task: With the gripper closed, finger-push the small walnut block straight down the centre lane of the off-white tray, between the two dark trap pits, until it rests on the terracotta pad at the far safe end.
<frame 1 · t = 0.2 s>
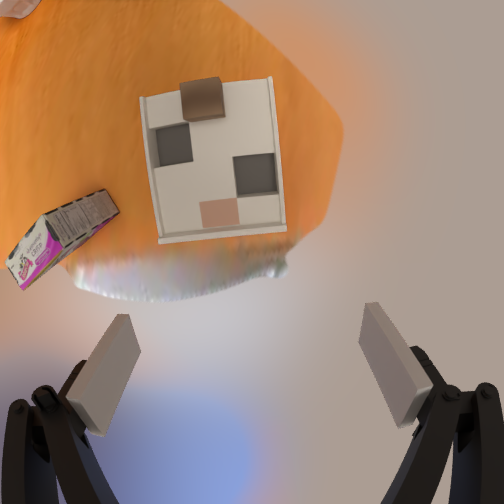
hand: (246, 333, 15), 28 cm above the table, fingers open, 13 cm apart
candy bar box: (92, 219, 41), on the table
cup: (30, 2, 23), on the table
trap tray: (215, 158, 38), on the table
block: (206, 103, 32), point 3 cm above the table, touching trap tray
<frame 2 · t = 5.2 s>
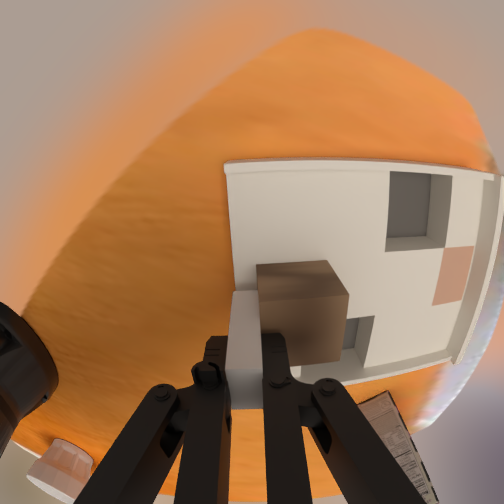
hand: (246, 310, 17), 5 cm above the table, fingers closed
candy bar box: (378, 415, 29), on the table
cup: (73, 450, 34), on the table
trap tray: (365, 268, 21), on the table
block: (292, 293, 19), point 3 cm above the table, touching gripper
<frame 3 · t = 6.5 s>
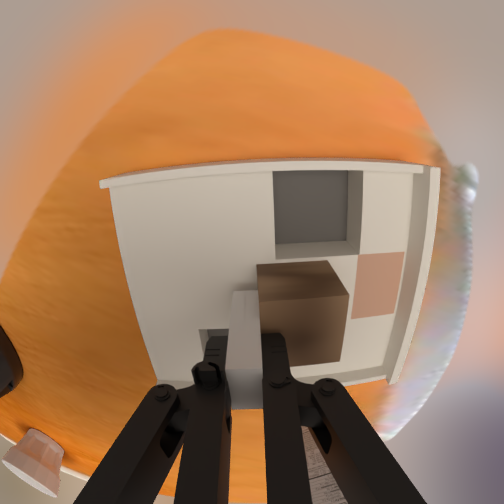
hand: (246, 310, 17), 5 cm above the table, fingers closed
candy bar box: (323, 427, 29), on the table
cup: (46, 440, 35), on the table
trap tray: (272, 275, 21), on the table
block: (292, 293, 19), point 3 cm above the table, touching gripper
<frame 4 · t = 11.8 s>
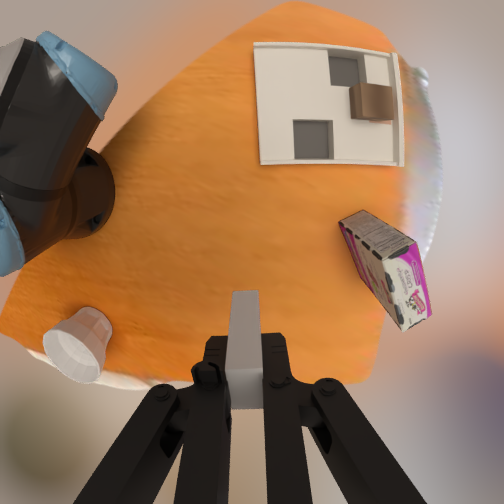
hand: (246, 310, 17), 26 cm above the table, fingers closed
candy bar box: (362, 243, 44), on the table
cup: (94, 323, 49), on the table
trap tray: (326, 105, 36), on the table
block: (364, 104, 33), point 3 cm above the table, touching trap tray
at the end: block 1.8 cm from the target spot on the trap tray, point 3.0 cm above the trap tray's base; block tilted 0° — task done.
